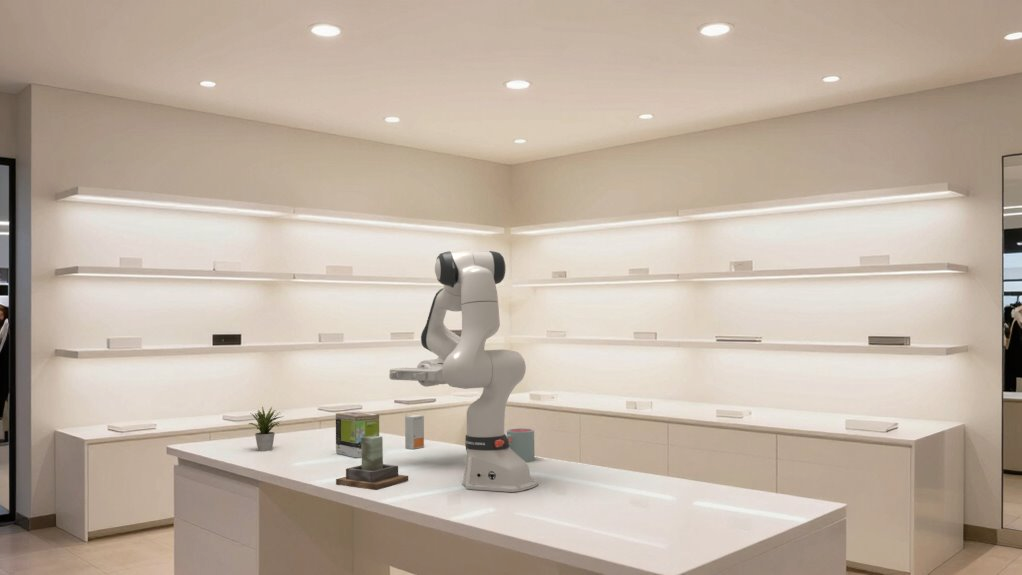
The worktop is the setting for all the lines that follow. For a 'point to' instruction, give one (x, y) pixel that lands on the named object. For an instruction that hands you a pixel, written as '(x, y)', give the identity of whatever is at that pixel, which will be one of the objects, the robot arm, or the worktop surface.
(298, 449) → the worktop surface
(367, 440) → the green peg
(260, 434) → the house plant
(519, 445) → the mug
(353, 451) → the tea box
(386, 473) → the display stand
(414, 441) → the skincare box
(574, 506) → the worktop surface
